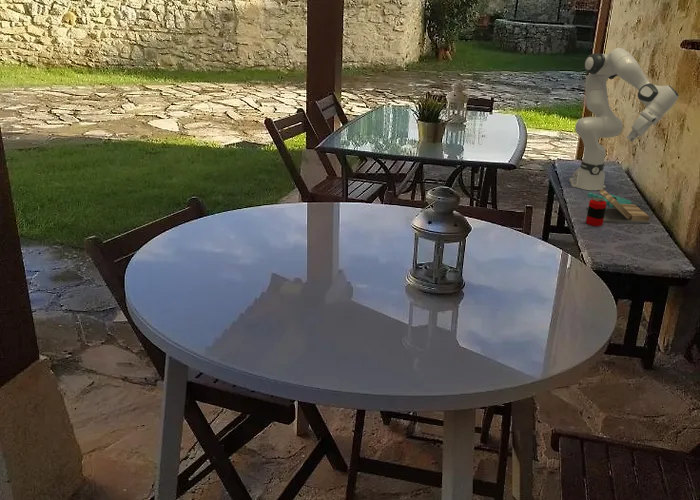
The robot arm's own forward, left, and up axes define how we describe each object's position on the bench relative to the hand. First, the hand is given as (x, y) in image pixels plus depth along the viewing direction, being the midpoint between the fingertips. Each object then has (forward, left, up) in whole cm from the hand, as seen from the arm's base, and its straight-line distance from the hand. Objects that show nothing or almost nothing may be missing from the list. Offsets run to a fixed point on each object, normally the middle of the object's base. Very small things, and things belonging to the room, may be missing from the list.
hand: (629, 139), depth 331 cm
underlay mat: (+14, -5, -35) cm, 38 cm away
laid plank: (+14, +3, -35) cm, 38 cm away
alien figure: (-7, -1, -36) cm, 36 cm away
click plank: (+14, -8, -29) cm, 33 cm away
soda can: (+26, -20, -35) cm, 48 cm away
